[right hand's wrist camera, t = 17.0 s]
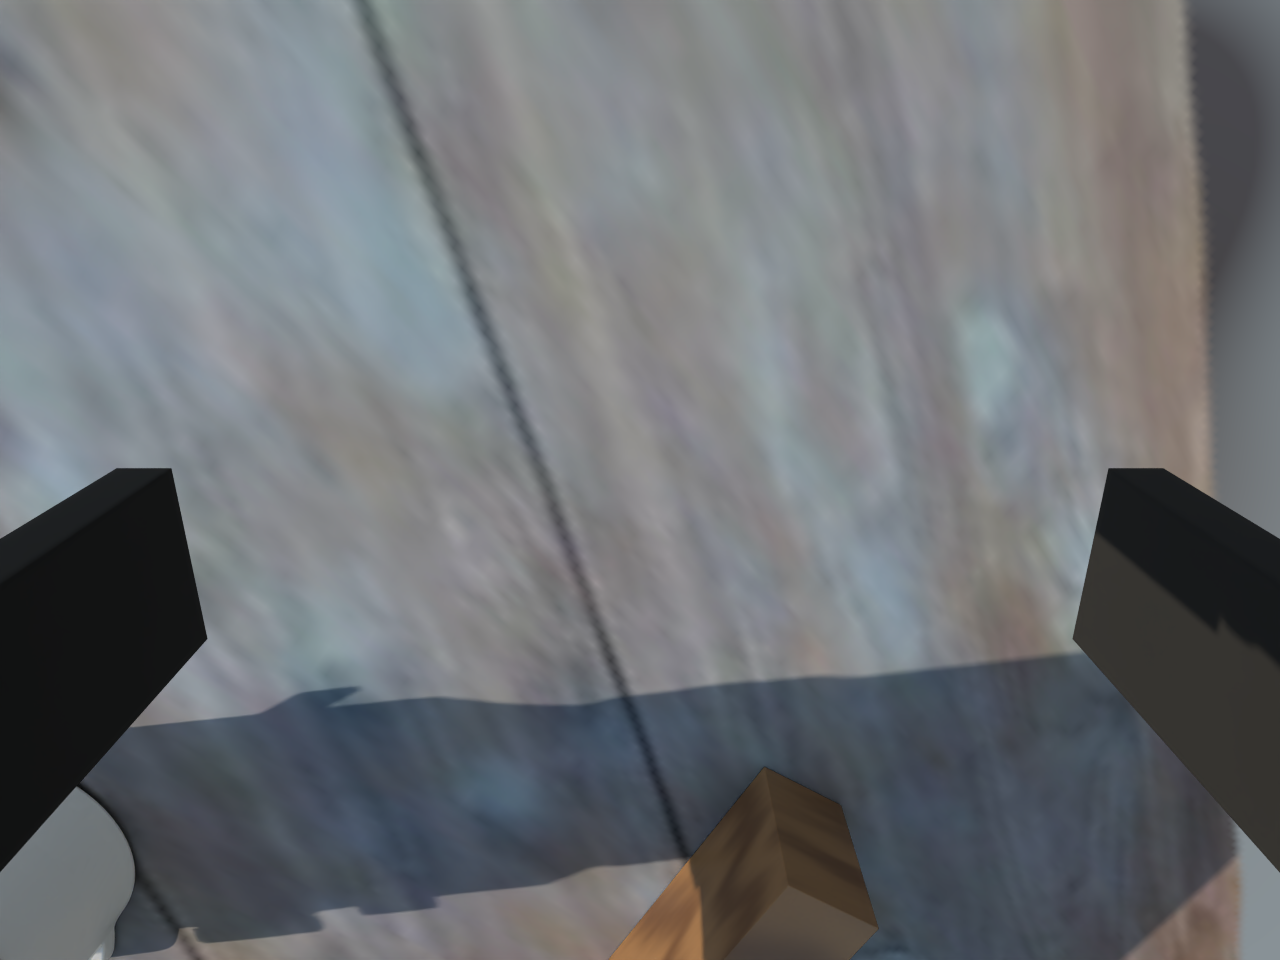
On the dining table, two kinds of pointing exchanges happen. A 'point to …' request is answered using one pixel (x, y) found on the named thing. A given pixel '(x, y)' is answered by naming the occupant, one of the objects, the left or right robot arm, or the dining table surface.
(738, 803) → the bar
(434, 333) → the dining table surface
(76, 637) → the right robot arm
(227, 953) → the dining table surface
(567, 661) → the dining table surface
